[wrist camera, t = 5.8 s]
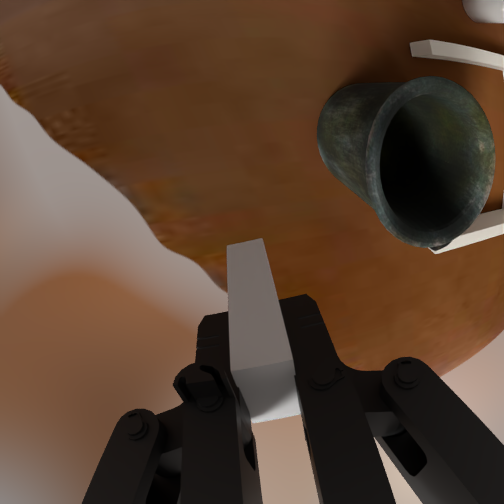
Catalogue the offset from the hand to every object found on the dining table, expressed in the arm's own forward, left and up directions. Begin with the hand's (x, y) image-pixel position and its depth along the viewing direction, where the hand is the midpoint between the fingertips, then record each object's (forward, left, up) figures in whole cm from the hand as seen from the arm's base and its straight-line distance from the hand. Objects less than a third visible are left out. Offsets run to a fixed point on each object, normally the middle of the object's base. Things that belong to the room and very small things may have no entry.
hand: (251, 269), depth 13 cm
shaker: (-18, +31, -15) cm, 39 cm away
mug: (0, +13, -16) cm, 20 cm away
